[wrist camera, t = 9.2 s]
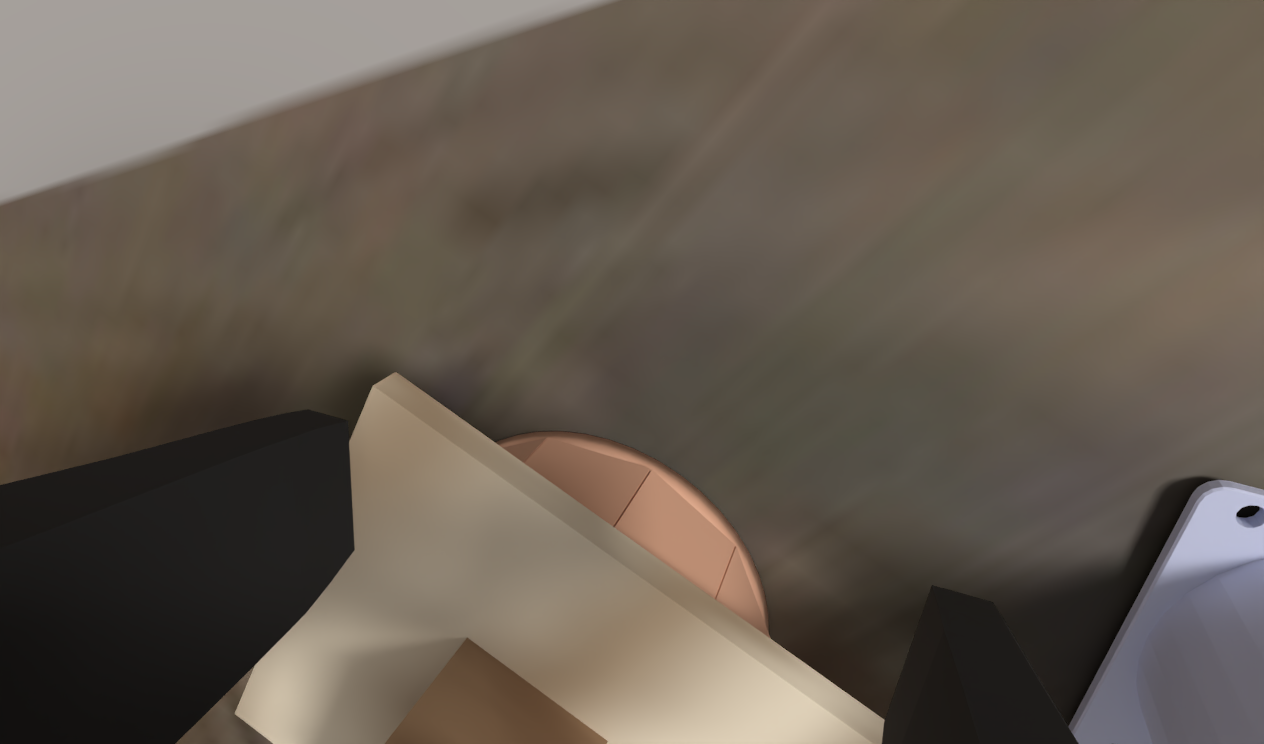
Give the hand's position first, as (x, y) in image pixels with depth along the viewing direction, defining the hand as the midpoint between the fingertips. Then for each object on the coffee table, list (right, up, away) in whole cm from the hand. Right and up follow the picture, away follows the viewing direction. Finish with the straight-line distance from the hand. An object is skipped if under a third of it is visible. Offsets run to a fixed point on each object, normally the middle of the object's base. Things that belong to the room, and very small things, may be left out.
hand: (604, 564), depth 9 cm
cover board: (-3, -6, +10) cm, 12 cm away
